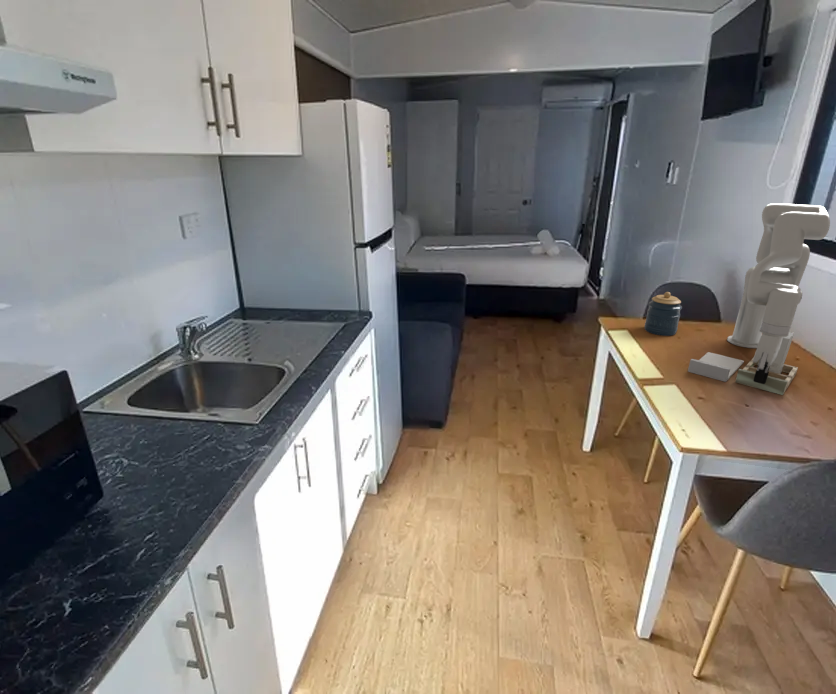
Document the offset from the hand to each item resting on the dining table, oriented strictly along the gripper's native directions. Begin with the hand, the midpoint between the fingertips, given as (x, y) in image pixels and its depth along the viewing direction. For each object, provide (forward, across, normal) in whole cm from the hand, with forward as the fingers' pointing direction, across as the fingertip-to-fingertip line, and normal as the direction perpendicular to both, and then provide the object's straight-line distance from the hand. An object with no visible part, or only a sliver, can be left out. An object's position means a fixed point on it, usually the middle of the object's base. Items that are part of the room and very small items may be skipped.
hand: (759, 382), depth 158 cm
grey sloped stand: (+3, -12, -15) cm, 19 cm away
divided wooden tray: (+3, -14, 0) cm, 14 cm away
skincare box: (+3, -18, 0) cm, 18 cm away
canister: (+3, -38, -44) cm, 58 cm away
